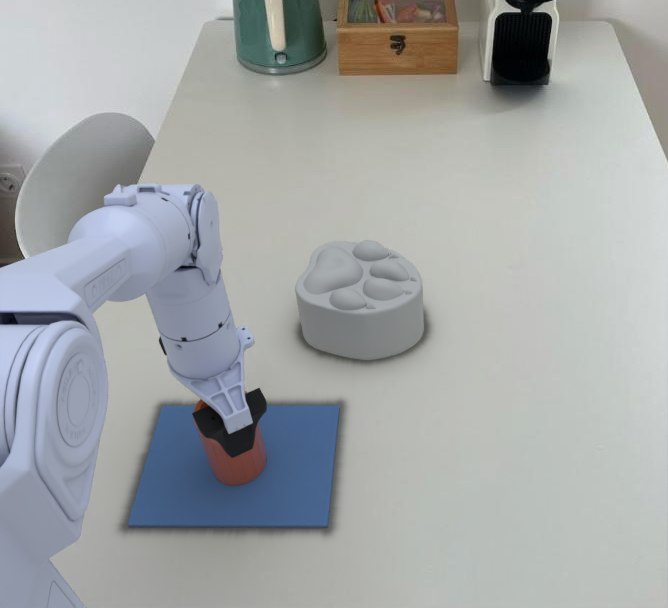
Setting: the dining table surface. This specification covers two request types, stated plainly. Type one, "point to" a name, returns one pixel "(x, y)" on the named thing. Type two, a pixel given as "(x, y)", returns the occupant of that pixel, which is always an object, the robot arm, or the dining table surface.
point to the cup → (239, 466)
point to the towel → (248, 499)
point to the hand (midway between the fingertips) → (225, 418)
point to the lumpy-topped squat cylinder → (360, 300)
